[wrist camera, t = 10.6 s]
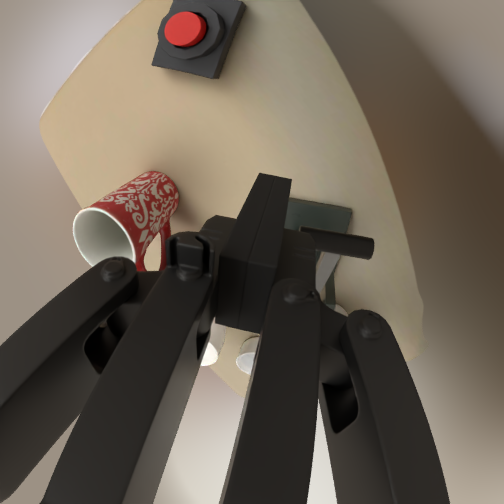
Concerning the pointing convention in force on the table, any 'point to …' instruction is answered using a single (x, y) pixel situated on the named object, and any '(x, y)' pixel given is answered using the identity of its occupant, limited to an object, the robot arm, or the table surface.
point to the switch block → (210, 47)
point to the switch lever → (336, 250)
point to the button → (185, 29)
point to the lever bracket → (322, 219)
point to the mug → (128, 220)
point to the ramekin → (247, 355)
